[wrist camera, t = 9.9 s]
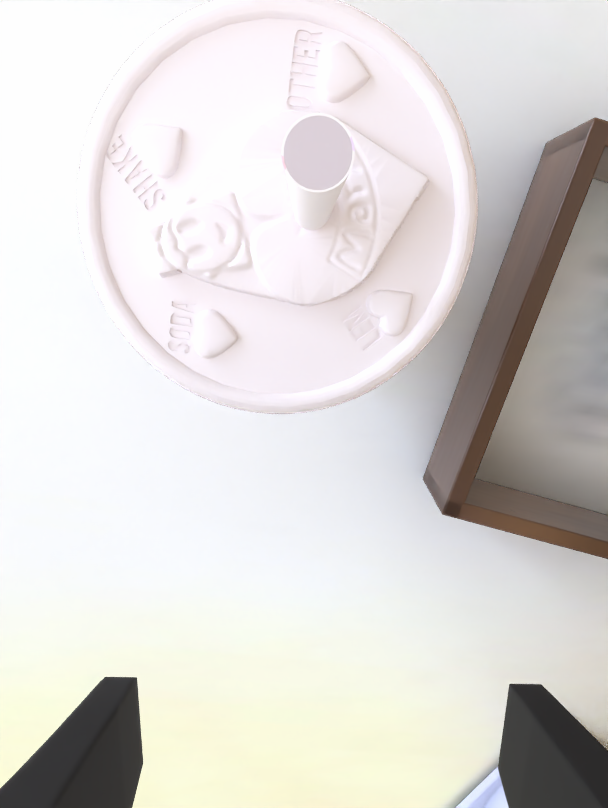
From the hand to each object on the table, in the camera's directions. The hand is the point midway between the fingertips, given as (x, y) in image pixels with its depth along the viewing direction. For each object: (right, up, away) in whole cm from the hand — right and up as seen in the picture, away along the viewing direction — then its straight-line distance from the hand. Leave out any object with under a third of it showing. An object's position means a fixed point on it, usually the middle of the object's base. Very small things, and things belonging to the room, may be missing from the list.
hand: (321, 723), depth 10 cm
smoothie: (-1, +12, +8) cm, 14 cm away
